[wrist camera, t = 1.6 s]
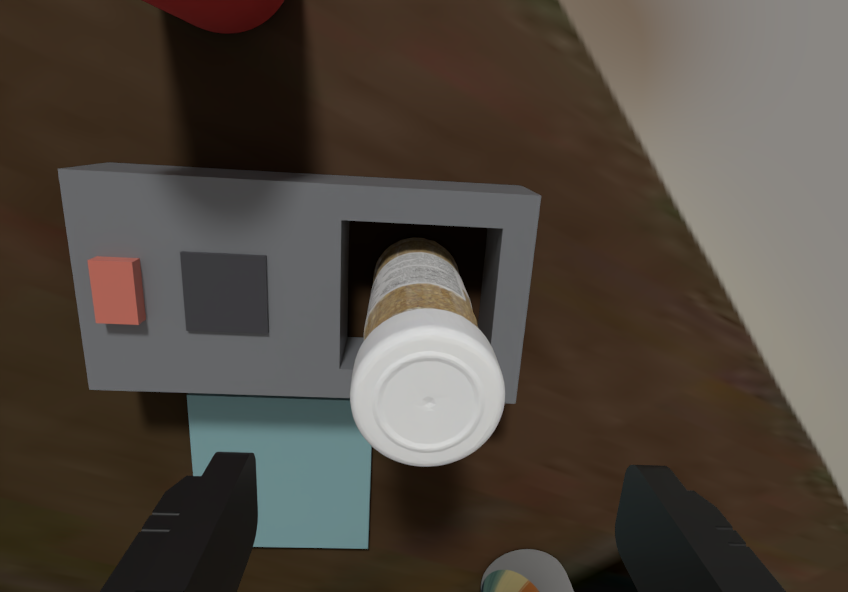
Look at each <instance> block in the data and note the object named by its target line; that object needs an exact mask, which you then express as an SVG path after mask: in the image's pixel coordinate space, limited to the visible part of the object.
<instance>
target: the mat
mask: <svg viewBox="0 0 848 592" xmlns="http://www.w3.org/2000/svg"><path fill="white" fill-rule="evenodd" d="M187 405H188V417H189V429H190V441H191V454H192V466H193V476H202V474H203V473H204V471H205V469H206V467H207V466H208V464H209V462H210V461H211V459H212V457H213V456H214V454H215V453H216V452H247V453H254V455H255V459H256V477H257V501H258V524H257V531H256V537H255V541H254V545H253V547H293V548H352V549H368V540H369V511H370V482H371V453H372V446H371V445H370V444H369V443H368V442H367V440H366V439H365V438H364V437H363V436H362V434H361V433H360V431H359V429H358V427H357V425H356V423H355V421H354V418H353V414H352V410H351V404H350V398H329V397H299V396H268V395H238V394H207V393H188V394H187Z"/></svg>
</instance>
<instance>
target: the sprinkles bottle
mask: <svg viewBox="0 0 848 592" xmlns="http://www.w3.org/2000/svg"><path fill="white" fill-rule="evenodd" d="M504 403H505V384H504V379H503V375H502V372H501V369H500V366H499V364H498V361H497V358H496V356H495V353H494V351H493V348H492V346H491V345H490V343H489V341H488V340H487V338H486V336H485V335H484V334H483V333H482V332H481V330H479V328H478V325H477V321H476V318H475V315H474V313H473V310H472V306H471V302H470V299H469V296H468V294H467V291H466V289H465V287H464V284H463V281H462V279H461V277H460V275H459V270H458V266H457V264H456V262H455V260H454V258H453V257H452V255H451V254H450V253H449V252H448V251H447V250H446V249H445V248H444V247H443V246H441V245H440V244H438V243H437V242H435V241H433V240H428V239H425V238H415V237H412V238H407V239H402V240H400V241H398V242H396V243H394V244H392V245H391V246H390V247H388V248H387V249H386V250H385V251H384V252H383V254H382V255H381V256H380V258H379V259H378V261H377V263H376V266H375V270H374V276H373V286H372V290H371V295H370V301H369V306H368V312H367V317H366V322H365V328H364V342H363V343H362V345H361V347H360V349H359V351H358V353H357V356H356V359H355V363H354V368H353V373H352V380H351V389H350V404H351V410H352V414H353V418H354V421H355V423H356V425H357V427H358V429H359V431H360V433H361V434H362V436H363V437H364V438H365V439H366V440H367V442H368V443H369V444H370V445H371V446H372V447H373V448H375V449H376V450H377V451H379V452H380V453H381V454H383V455H384V456H386V457H388V458H390V459H392V460H394V461H397V462H400V463H403V464H407V465H412V466H420V467H431V466H441V465H445V464H449V463H452V462H455V461H458V460H460V459H462V458H464V457H466V456H468V455H470V454H471V453H473V452H474V451H476V450H477V449H478V448H479V447H481V446H482V445H483V444H484V443H485V442H486V441H487V440H488V439H489V437H490V436H491V434H492V433H493V432H494V431H495V429H496V427H497V425H498V423H499V421H500V418H501V416H502V413H503V409H504Z"/></svg>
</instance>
